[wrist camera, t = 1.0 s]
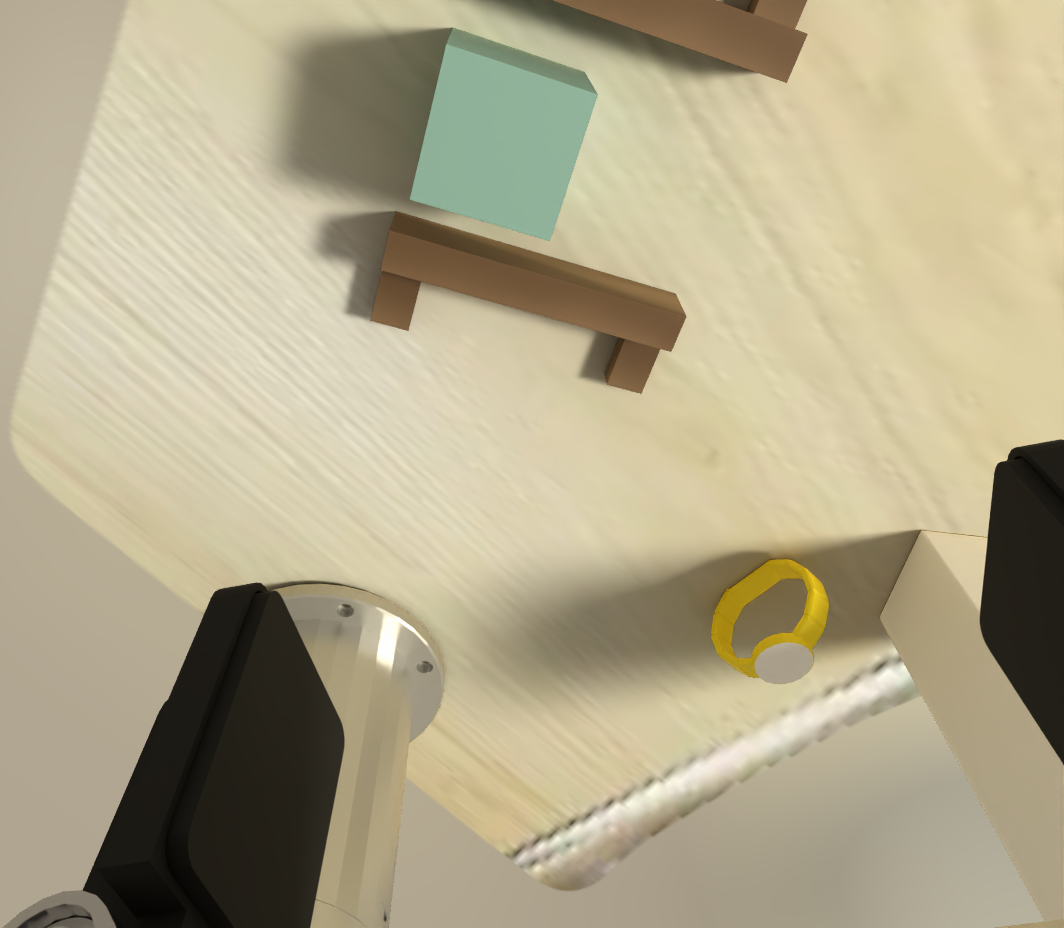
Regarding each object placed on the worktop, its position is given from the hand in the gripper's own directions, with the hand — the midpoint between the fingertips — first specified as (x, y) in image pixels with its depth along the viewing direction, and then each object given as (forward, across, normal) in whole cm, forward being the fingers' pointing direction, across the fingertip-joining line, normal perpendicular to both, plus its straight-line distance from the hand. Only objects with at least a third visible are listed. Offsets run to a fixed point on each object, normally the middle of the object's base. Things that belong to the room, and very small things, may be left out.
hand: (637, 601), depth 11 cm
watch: (+26, -6, +24) cm, 36 cm away
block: (+26, +2, -1) cm, 26 cm away
